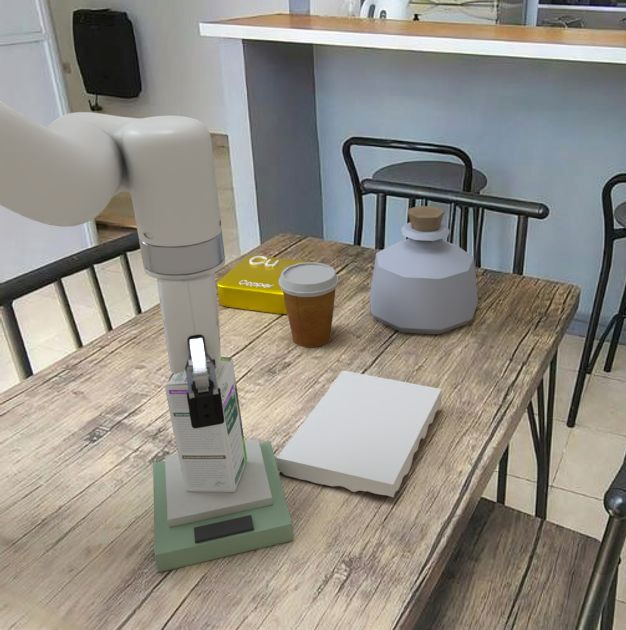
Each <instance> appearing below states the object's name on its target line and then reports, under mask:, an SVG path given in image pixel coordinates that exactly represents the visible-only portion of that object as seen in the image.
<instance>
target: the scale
mask: <svg viewBox="0 0 626 630" xmlns="http://www.w3.org/2000/svg"><path fill="white" fill-rule="evenodd" d="M244 441H245V448H246V455H247V461H246V464H245V466H244V469H243V472H242V475H241V478H240V480H239V482H238V485H237V487H236V491H235V492H194V491H186V490H185V486H184V481H183V476H182V471H181V466H180V461H179V456H178V453H173V454H169V455H165V456H164V460H161V461H158V462H153V463H152V483H153V484H152V487H153V488H152V489H153V493H152V494H153V546H154V547H153V550H154V551H153V552H154V559H155V560H154V561H155V564H156V568H157V573H162V572H166V571H170V570H175V569H178V568H182V567H187V566H192V565H195V564H196V565H197V564H199V563H200V564H201V563H204V562H209V561H212V560H217V559H222V558H225V557H229V556H234V555H237V554H242V553H246V552H250V551H255V550H259V549H263V548H267V547H271V546H275V545H281V544H284V543H288V542H293V541H294V530H293V522H292V519H291V515H290V511H289V507H288V503H287V498H286V495H285V492H284V487H283V483H282V480H281V475H280V471H279V470H278V465H277V459H276V457H275V453H274V449H273V445H272V441H271V440H267V441H263V442H260V439H259V438H254V439H249V440H244Z"/></svg>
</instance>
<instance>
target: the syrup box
mask: <svg viewBox="0 0 626 630" xmlns="http://www.w3.org/2000/svg"><path fill="white" fill-rule="evenodd" d="M205 360H206V363H209V362H210V358H205ZM188 361H189V365H193V363H192V360H189V358H188ZM207 373H208V379H209V378H210V379H211V376H210V370H207ZM215 373H216V380H217V387H218V388H220V390H221V398H222V406H223V413H224V423H222V424H219V425H213V426H207V427H202V428H193V427H192V425H191V419H190V413H189V406H188V400H187V393H189V391H188V384H187V376H186V371H185V370H184V372H181V373H178V374H174V373H172V372H171V375H170V376H169V378H168V379H167V382H166V383H165V385H164V390H165V395H166V400H167V406H168V410H169V416H170V420H171V426H172V431H173V436H174V441H175V446H176V450H177V454H178V456H179V461H180V466H181V471H182V476H183V481H184V486H185V490H186V491H194V492H235V491H236V487H237V485H238V482H239V480H240V478H241V475H242V472H243V469H244V466H245V464H246V461H247V455H246V448H245V441H246V440H245V436H244V435H245V434H244V428H243V420H242V413H241V407H240V399H239V393H238V392H239V391H238V385H237V380H236V372H235V365H234V359H233V358H232V357H230V356H229V357H228V356H221V364H220V365H219V366H218V367H217V368H216V367H215ZM192 378H193V381H195V378H194V372H193V373H192Z"/></svg>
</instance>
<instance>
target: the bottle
mask: <svg viewBox="0 0 626 630" xmlns="http://www.w3.org/2000/svg"><path fill="white" fill-rule="evenodd" d="M445 212H446V210H443V209H441V208H439V207H436V206H434V205H433V206H432V205H430V206H428V205H421V206H420V205H416V206H413V207H410V208H408V211H407V216H408V218H409V222H407V223H405V224H404V225H403V226H402V227H401V228H400V230H401V236H402V237H406V238H407V239H403V240H400V241H397V242H395V243H393V244H390V245H389V246H387V247H385V248H383V249H381V250H379V251H377V252H375V258H374V265H373V272H372V276H371V277H372V278H371V284H370V289H369V290H370V291H369V295H368V296H369V304H370V311H371V315H372V316H373V318H375V319H376V320H377V321H378V322H379V323H382V324H384V325H385V326H388V327H390V328H392V329H394V330H396V331H398V332H400V333H402V334H421V335H441V334H444V333H447V332H449V331H452V330H455V329H457V328H460V327H463V326H466V325H467V324H469V322H471V321H472V320H473V317H474V315H475V312H476V309H477V306H478V304H479V296H478V286H477V285H478V284H477V275H476V265H475V256H473V255H471V253H469V252H467V251H465V249H463V248H462V247H460V246H459V245H457V244H454V243H451V242H449V241H446V240H444V239H446V238H448V237H449V235H450V233H451V230H450V229H449V227H448V226H447V225H445V224H444V223H442V221H443V218H444V215H445Z"/></svg>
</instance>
